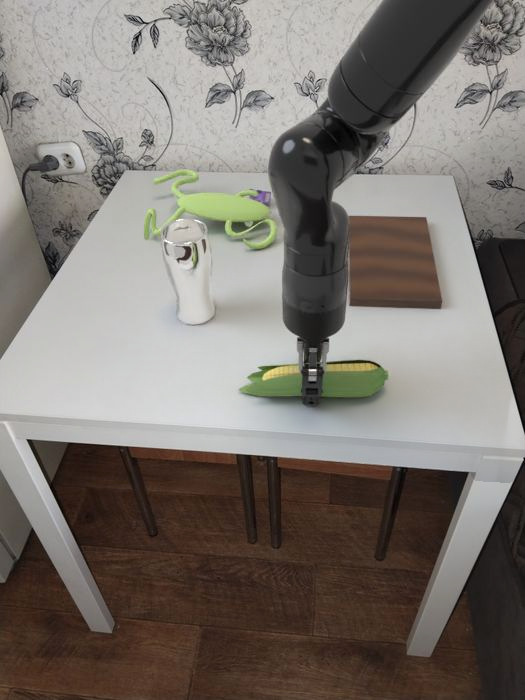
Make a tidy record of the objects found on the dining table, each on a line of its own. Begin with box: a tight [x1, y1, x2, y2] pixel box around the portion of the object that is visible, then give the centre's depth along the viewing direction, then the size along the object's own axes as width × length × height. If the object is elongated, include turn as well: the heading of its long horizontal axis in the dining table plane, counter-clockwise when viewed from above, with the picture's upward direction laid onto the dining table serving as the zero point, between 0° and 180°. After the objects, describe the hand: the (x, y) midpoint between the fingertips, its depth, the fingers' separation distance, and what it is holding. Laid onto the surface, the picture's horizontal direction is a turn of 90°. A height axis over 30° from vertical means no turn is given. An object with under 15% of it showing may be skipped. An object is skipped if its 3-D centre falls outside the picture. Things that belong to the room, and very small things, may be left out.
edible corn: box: [237, 359, 389, 399], centre depth 78 cm, size 5×20×5 cm, turn 90°
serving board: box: [348, 215, 443, 310], centre depth 100 cm, size 24×14×2 cm, turn 174°
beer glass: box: [160, 217, 216, 326], centre depth 87 cm, size 7×7×15 cm
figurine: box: [143, 168, 278, 250], centre depth 110 cm, size 18×27×6 cm
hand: (311, 387), depth 80 cm, fingers closed on edible corn, 5 cm apart
